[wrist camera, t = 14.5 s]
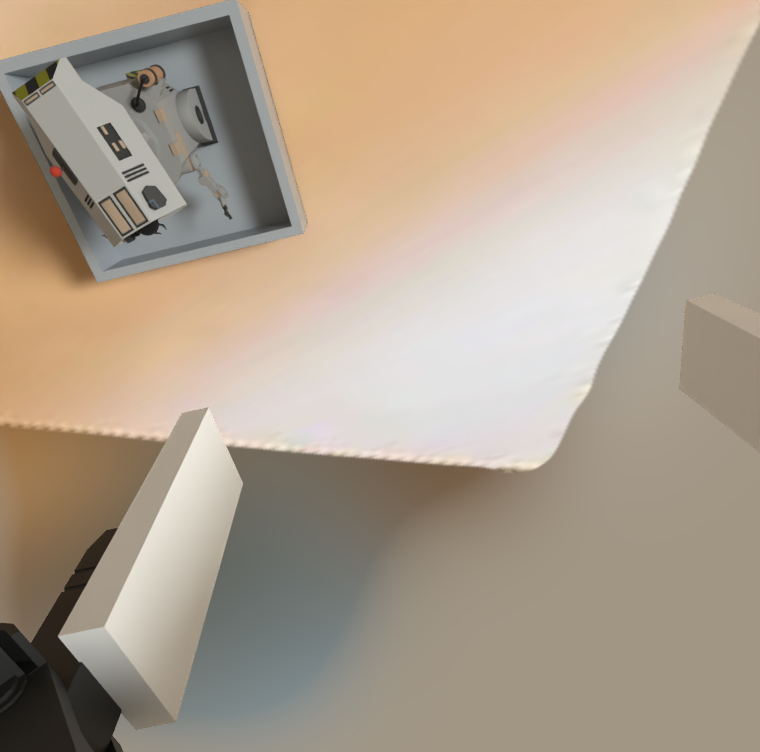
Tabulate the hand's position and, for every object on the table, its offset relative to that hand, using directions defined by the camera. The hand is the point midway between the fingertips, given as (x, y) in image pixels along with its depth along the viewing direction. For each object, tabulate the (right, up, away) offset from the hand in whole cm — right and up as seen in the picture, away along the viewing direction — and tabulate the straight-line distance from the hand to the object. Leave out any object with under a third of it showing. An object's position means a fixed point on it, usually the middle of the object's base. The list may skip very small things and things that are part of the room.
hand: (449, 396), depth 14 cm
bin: (-20, +20, +30) cm, 41 cm away
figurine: (-20, +20, +29) cm, 40 cm away
